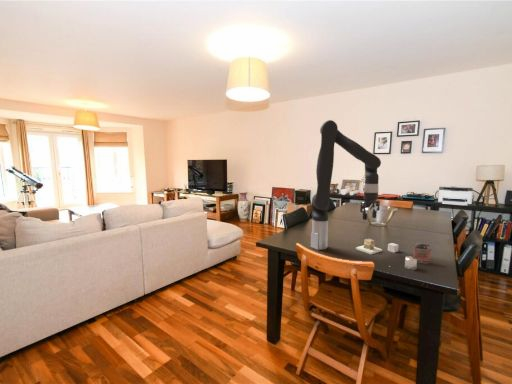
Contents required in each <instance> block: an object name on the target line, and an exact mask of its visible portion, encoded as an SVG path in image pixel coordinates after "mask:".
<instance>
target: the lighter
mask: <svg viewBox="0 0 512 384" xmlns="http://www.w3.org/2000/svg"><path fill="white" fill-rule="evenodd" d="M430 247H431V244H430V243H423V242H420V243H418V242H417V243H416V244H415V246H413V247H412V250H413V251H412V252H413V253H412V257H415V258H417V264H419V263H420V264H428V265H429V264H431V256H432V255H431V254H432V248H430Z"/></svg>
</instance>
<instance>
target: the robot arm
mask: <svg viewBox="0 0 512 384" xmlns="http://www.w3.org/2000/svg"><path fill="white" fill-rule="evenodd" d="M319 132H320V135H321V139H320V148H319V152H318V156H317V162H316V173H315V174H316V182H317V184H316V185H317V188H316V192H315V194H314V195H313V196H312V199H311V215H312V218H311V219H312V221H311V222H312V223H311V224H312V225H311V226H312V227H311V232H310V248H312V249H315V250H317V251H319V250H327V248H328V236H329V235H328V233H329V232H328V231H329V230H328V229H329V215H328V208H329V207H330V204H331V203H330V202H331V184H332V177H333V169H334V160H335V144H337V145H338V146H339V147H341V148H342V149H343V150H345V151H346V153H347V152H348V154H349V155H351V156H352V157H353V158H355V159H357V160H358V161H360V162H362V163H363V164H364V173H365V179H364V186H363V199H364V201H361V202H360V208H359V209H360V210H359V211H360V213H362V220H364V221H367V219H368V213H369V211H370V210H372V213H371V214H372V215H371V217H372V218H373V219H377V214H378V211H380V205H381V204H380V203H381V201H380V200H378V198H379V174H378V168H380V166H381V164H382V161H381V158H380V157H378V156H376V154H374V153H372V152H370V151H368V150H367V149H366V148H365V147H364V146H362V144H359V143H358V142H356V141H355V140H353V139H351V138H350V137H347V136H346V135H345V134H343V133H342V132H341V131H340V130H339V127H338V124H337V123H336V122H335V121H334V120H333V119H329V120H326V121H325V122H323V123H322V125H321V126H320V129H319Z"/></svg>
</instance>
